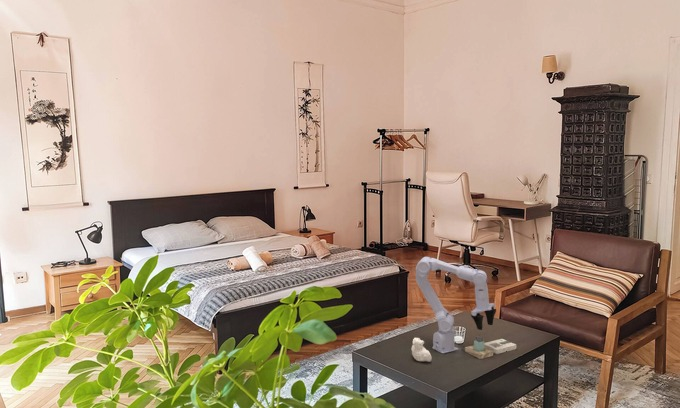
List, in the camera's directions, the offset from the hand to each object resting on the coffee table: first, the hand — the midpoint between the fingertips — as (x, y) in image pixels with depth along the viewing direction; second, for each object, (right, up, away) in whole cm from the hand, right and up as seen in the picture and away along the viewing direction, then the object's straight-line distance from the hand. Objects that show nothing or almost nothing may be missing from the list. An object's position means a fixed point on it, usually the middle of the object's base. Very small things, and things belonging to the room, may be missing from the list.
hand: (485, 327), depth 238 cm
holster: (-3, -12, +1) cm, 12 cm away
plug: (-3, -12, +1) cm, 12 cm away
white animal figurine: (-30, -14, -5) cm, 33 cm away
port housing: (+8, -11, +6) cm, 15 cm away
